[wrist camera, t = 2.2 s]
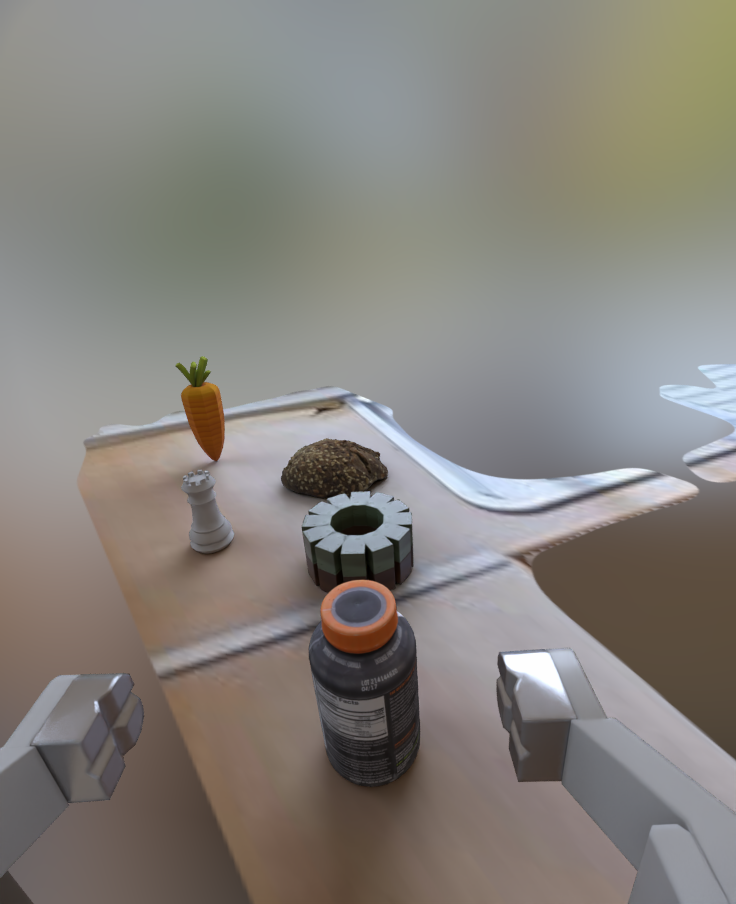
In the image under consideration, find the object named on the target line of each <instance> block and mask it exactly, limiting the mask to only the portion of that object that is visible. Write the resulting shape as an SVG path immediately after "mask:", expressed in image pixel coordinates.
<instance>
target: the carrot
mask: <svg viewBox="0 0 736 904" xmlns="http://www.w3.org/2000/svg"><path fill="white" fill-rule="evenodd" d="M206 365H207V358H205V357H200V360H199V364H198V369H197V370H196V366H197V365H196V363H195V362H192V363H191V367H190V374H189V373H188V371H187V370H186V368H185V367H184V366H183V365H182V364H180V363H177V364H176V367H177V368H178V369H179V370H180V371H181V372H182V373H183V374H184V376H185V377H186V378H187V379H188V380H189V382H190V383H191V385H189V386H187V387H186V388H185V389H184V390H183V392H182V393H181V398H182V402H183V405H184V409H185V412H186V416H187V419H188V422H189V425H190V427H191V429H192V431H193V434H194V436H195V438H196V440H197V442H198V444H199V445H200V446H201V448H202V449H203V450H204V452H205V453H206V454H207V455H208V456H209V457H210V458H211V459H212V460H214V461H218V459H219V458H220V455H221V452H222V448H223V443H224V431H225V427H224V413H223V407H222V401H221V396H220V391H219V389H218V387H217V386H216V385H214V384H211V383H207V382H204V381H205V380H206V378H207V377H208V375H209V374H210V371H209V370H208V371H206V372H205V368H206ZM204 372H205V373H204Z"/></svg>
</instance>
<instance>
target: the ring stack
mask: <svg viewBox="0 0 736 904" xmlns="http://www.w3.org/2000/svg"><path fill="white" fill-rule="evenodd" d="M308 512H309V515H305V518H304V521H303V524H302V533H303V540H304V546H305V552H306V559H307V566H308V572H309V575H310V576H311V578H312V579H313V581H314V583H315V584H316V585H319V584H320V587H321V590H324V591H326V592H328V593H329V592H330V591H331V590H332V589H334V588H335V587H337V586H338V585H341V584H343V583H346V582H349V581H354V580H370V581H374V582H377V583H380V584H382V585H384V586H385V587H387V588H388V589H389V590H392V589H395V582H396V583H399V584H402V582H403V581H404V580H405V579H406V578H407V576H408V575H409V574H410V573H411V567H413V537H412V513H411V512H409V508H408V507H407V506H406V505H405V504H404V503H402V502H401V501H400V500H399V499H398V500H395V501H394V497H393V496H389V495H386V494H382V493H378V492H376V493H375V494H374V495H373V496H372V497H371V492H370V491H368V492H351V496H350V498H349V497H348V496H347V495H346V494H345V493H344V494H340V495H337V496H334V497H331V498H328V499H327V503H325V502H322V501H321V502H320V503H318V504H317V505H316V506H314V507H313V508H312V509H311V510H309V511H308Z"/></svg>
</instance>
